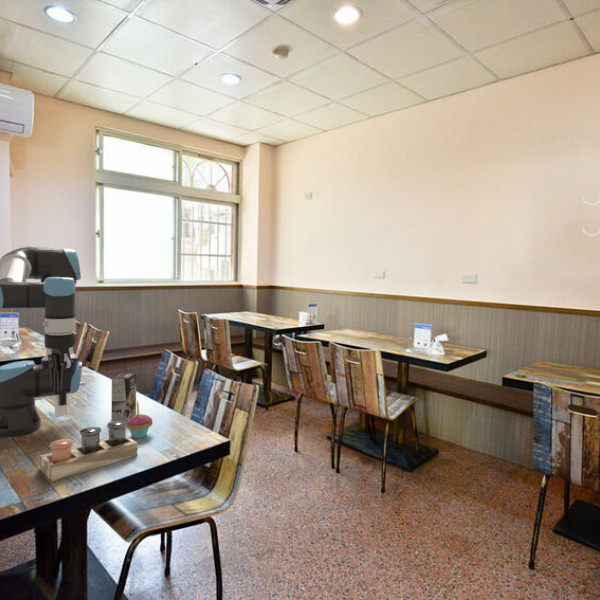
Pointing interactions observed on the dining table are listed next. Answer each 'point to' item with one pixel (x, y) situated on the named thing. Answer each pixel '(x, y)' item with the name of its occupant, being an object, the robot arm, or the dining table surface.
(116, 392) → the coffee box
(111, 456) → the wooden holder
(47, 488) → the dining table surface
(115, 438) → the plug
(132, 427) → the cupcake
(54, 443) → the plug terracotta
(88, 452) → the plug
